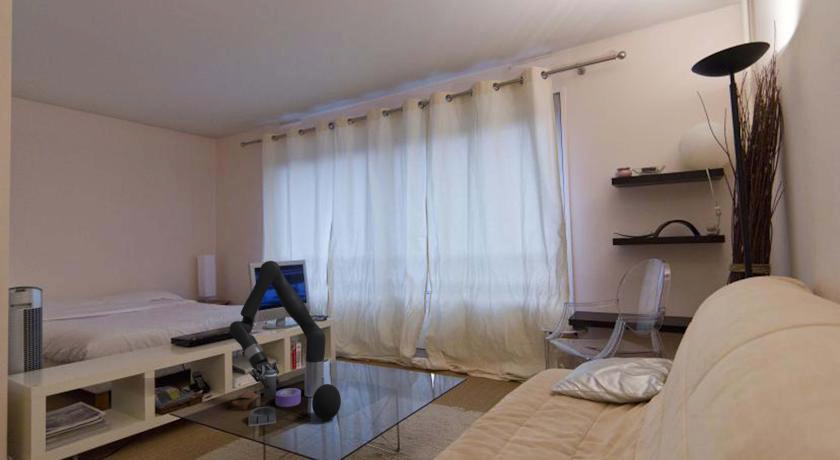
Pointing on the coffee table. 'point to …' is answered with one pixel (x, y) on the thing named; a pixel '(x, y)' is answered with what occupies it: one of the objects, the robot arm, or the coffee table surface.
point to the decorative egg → (326, 402)
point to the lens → (270, 383)
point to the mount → (262, 416)
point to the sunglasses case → (244, 400)
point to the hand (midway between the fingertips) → (273, 385)
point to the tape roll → (288, 397)
